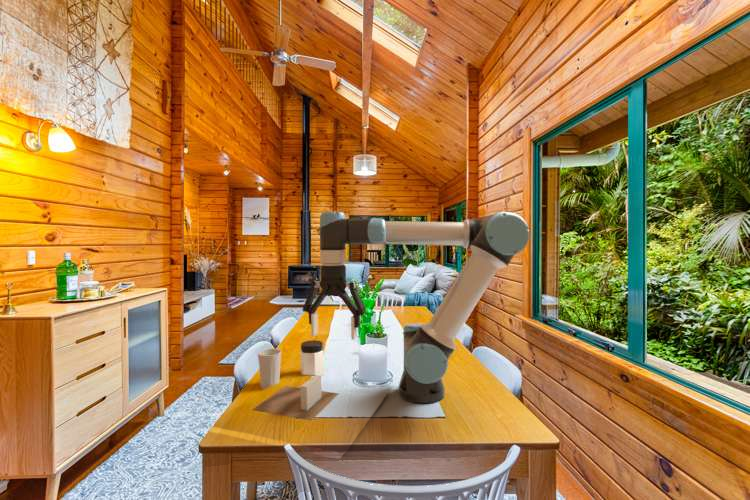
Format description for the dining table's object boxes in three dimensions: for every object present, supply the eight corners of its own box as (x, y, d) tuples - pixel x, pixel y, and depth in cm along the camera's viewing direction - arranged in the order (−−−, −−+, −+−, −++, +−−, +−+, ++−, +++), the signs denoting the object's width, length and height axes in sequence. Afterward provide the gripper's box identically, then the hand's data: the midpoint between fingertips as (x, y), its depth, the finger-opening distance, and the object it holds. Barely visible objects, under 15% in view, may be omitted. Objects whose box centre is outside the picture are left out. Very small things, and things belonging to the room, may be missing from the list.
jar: (299, 372, 137) (298, 341, 137) (319, 368, 141) (319, 339, 140) (303, 380, 129) (303, 347, 129) (325, 376, 132) (325, 345, 132)
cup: (275, 391, 120) (274, 356, 119) (253, 389, 121) (253, 354, 121) (285, 382, 128) (285, 349, 127) (265, 380, 129) (265, 348, 129)
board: (338, 397, 115) (338, 393, 115) (311, 424, 98) (311, 420, 98) (285, 389, 121) (285, 385, 121) (251, 413, 104) (251, 409, 104)
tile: (321, 397, 112) (321, 375, 112) (307, 410, 103) (306, 386, 103) (315, 396, 112) (315, 375, 112) (300, 409, 104) (300, 386, 104)
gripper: (376, 264, 104) (377, 336, 105) (303, 263, 112) (304, 330, 113) (367, 265, 97) (368, 343, 97) (290, 265, 105) (291, 336, 105)
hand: (334, 336), depth 105 cm, fingers open, 12 cm apart
